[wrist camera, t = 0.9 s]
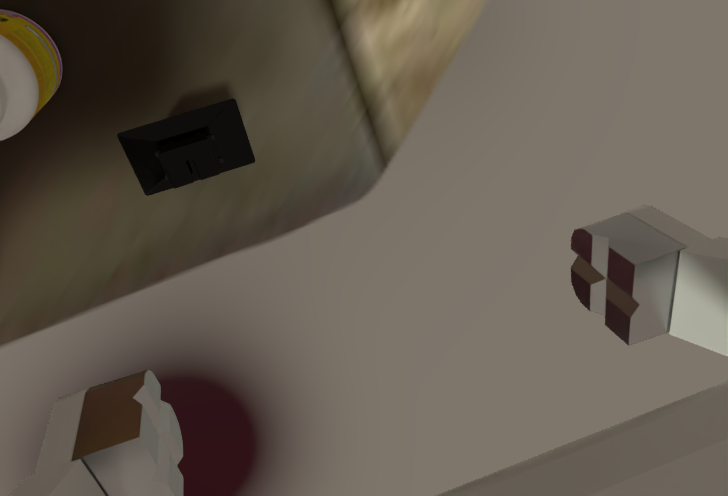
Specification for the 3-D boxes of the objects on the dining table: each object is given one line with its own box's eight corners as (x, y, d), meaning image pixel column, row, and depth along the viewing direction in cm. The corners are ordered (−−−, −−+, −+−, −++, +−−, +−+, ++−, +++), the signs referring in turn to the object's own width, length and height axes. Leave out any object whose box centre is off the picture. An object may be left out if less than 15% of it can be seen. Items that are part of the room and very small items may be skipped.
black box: (131, 208, 47) (127, 230, 43) (91, 125, 43) (83, 141, 39) (274, 163, 49) (282, 180, 45) (247, 80, 45) (254, 91, 41)
